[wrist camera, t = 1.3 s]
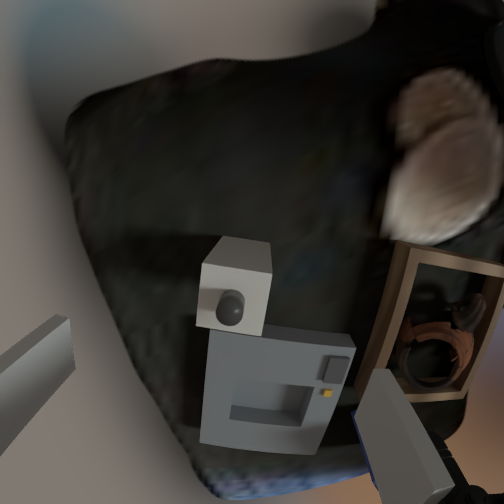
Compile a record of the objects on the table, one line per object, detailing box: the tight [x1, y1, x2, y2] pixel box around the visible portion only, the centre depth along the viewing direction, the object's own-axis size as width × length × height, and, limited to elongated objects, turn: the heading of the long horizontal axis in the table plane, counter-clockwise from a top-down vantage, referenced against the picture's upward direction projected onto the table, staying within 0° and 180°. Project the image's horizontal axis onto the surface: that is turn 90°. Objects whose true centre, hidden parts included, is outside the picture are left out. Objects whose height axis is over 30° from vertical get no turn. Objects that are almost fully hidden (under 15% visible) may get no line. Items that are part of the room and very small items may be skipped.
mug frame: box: [353, 240, 504, 402], centre depth 29 cm, size 15×17×4 cm
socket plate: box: [200, 324, 356, 455], centre depth 31 cm, size 14×16×4 cm
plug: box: [196, 236, 272, 336], centre depth 24 cm, size 4×4×12 cm
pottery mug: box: [396, 293, 486, 392], centre depth 28 cm, size 12×10×8 cm
